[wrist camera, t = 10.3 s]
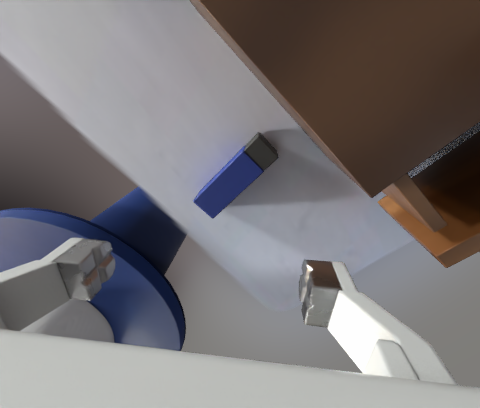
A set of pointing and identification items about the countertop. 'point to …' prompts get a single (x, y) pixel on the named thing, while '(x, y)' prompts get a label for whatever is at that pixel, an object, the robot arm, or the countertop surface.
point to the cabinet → (363, 74)
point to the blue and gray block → (236, 175)
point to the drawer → (441, 204)
